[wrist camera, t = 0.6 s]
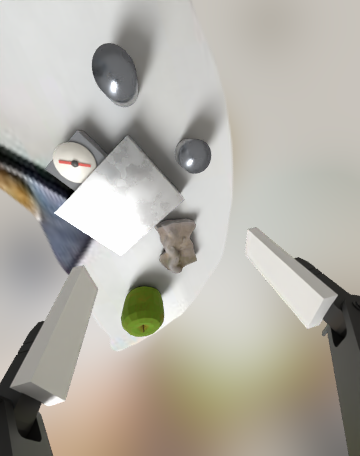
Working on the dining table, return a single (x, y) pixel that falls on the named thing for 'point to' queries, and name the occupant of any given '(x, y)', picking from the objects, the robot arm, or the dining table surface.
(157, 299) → the apple
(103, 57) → the cylinder
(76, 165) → the scale
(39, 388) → the robot arm
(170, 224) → the stone
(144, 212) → the platform
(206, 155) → the cylinder
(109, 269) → the dining table surface
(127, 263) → the dining table surface
